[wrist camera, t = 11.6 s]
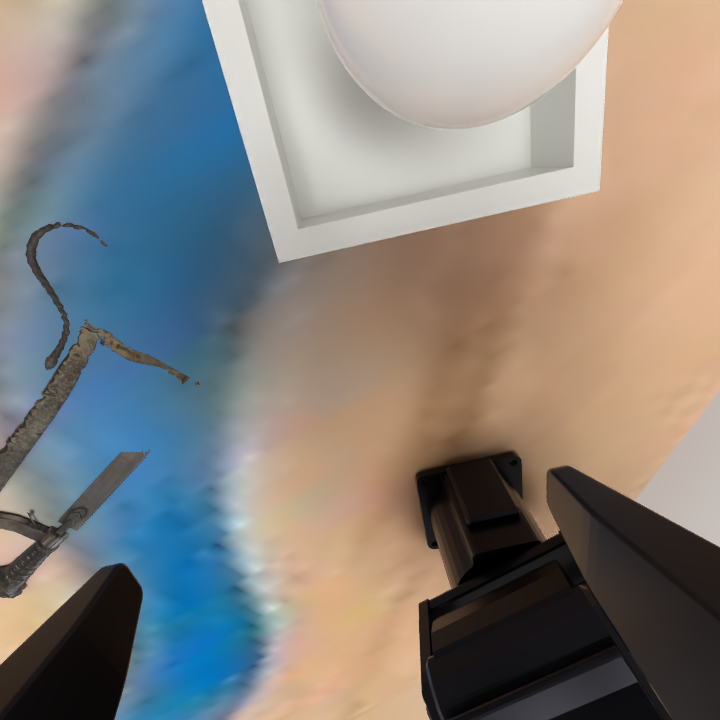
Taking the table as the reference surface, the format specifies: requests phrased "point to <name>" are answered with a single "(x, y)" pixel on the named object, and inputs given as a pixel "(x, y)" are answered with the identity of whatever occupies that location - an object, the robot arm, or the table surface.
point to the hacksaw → (35, 423)
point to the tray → (386, 139)
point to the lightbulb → (462, 53)
